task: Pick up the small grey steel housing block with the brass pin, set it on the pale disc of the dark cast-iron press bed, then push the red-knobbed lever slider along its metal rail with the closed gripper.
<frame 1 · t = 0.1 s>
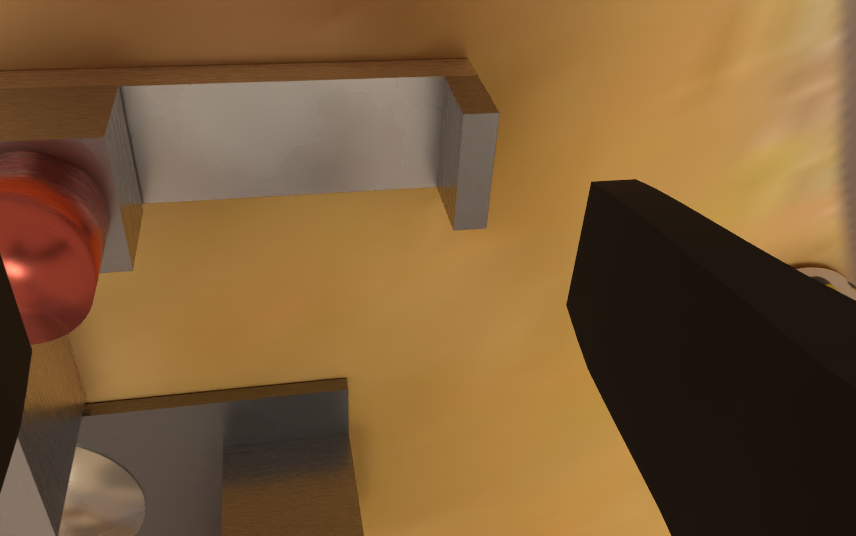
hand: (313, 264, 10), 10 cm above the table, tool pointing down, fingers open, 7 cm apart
lever rail: (197, 125, 19), on the table
supplement bottle: (773, 320, 28), on the table
lever: (35, 212, 16), point 4 cm above the table, slide at 0.0 cm
press bed: (136, 485, 26), on the table
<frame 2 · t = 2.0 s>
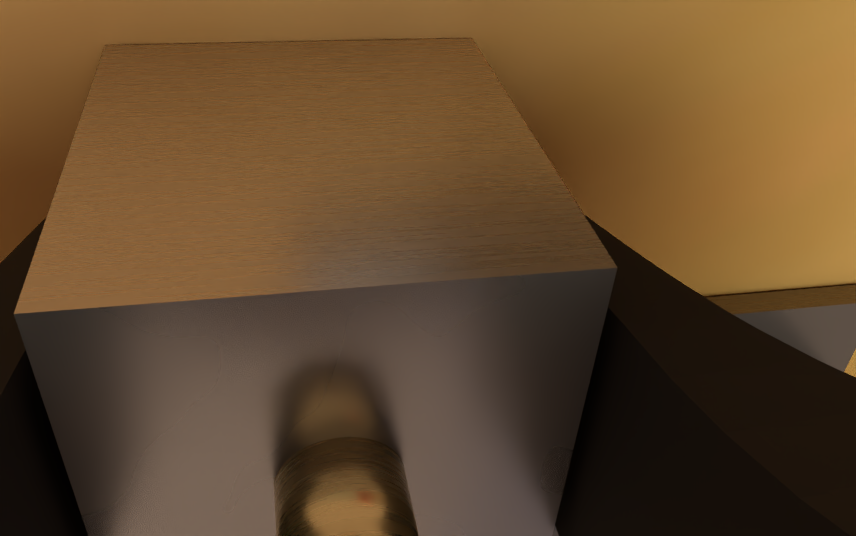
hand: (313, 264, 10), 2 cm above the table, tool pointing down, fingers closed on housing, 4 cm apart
housing: (303, 196, 11), on the table, touching gripper
press bed: (471, 471, 16), on the table
when the fingers open (9 cm above the table, at t = 3.3 s): housing drops 4 cm, resting on press bed.
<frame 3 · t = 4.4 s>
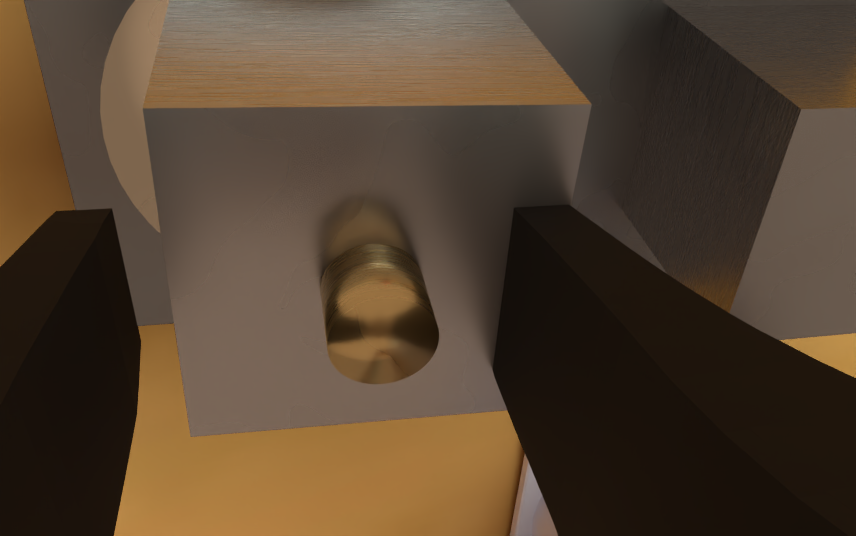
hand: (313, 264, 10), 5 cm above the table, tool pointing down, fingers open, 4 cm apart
housing: (334, 105, 13), point 1 cm above the table, touching gripper, press bed
press bed: (477, 110, 14), on the table
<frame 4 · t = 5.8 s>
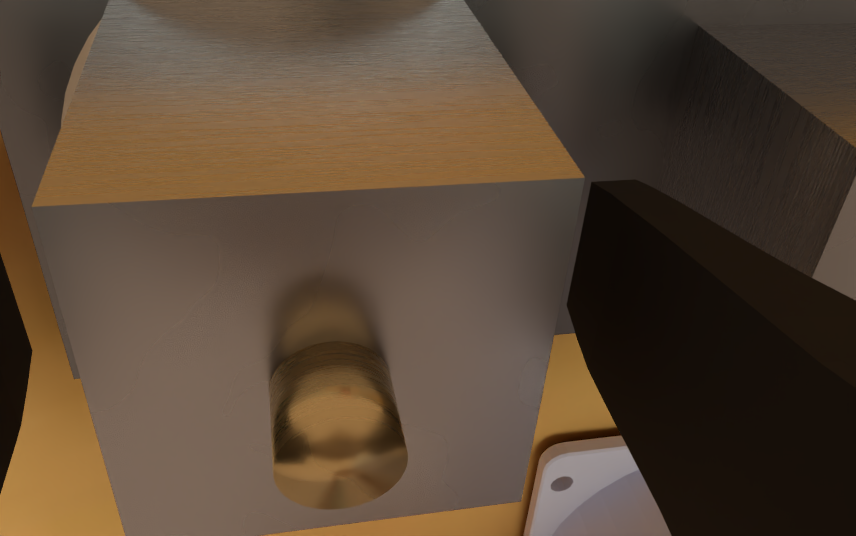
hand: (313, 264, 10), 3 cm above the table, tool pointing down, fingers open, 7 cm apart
housing: (298, 146, 12), point 1 cm above the table, touching press bed
press bed: (484, 138, 13), on the table
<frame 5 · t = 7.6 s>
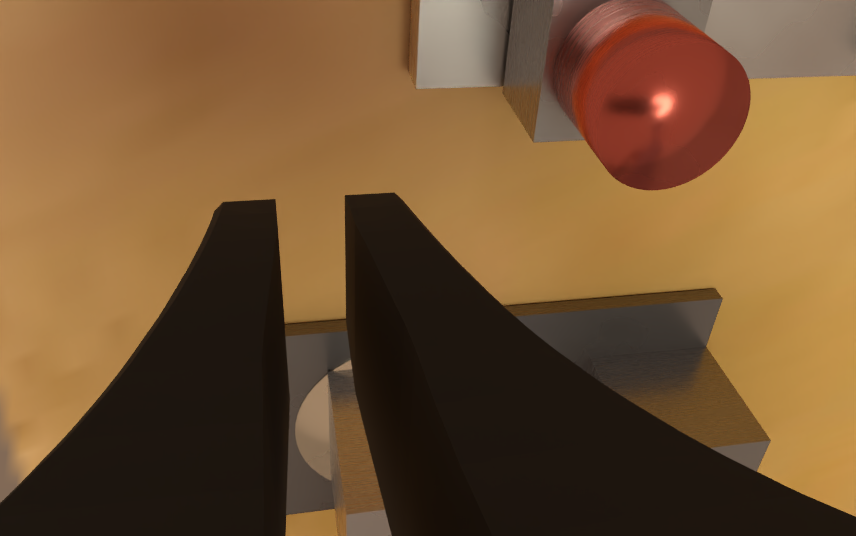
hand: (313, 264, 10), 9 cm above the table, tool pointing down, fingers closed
lever rail: (682, 4, 19), on the table
housing: (400, 416, 25), point 1 cm above the table, touching press bed
lever: (621, 66, 16), point 4 cm above the table, slide at 0.0 cm
press bed: (487, 400, 26), on the table
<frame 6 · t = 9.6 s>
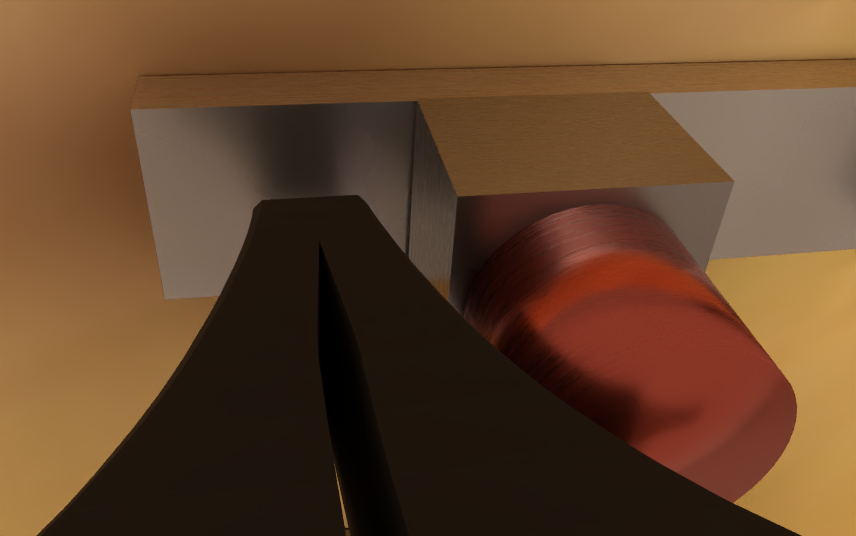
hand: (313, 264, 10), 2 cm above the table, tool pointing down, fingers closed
lever rail: (588, 155, 13), on the table
lever: (576, 302, 10), point 4 cm above the table, slide at 1.5 cm, touching gripper
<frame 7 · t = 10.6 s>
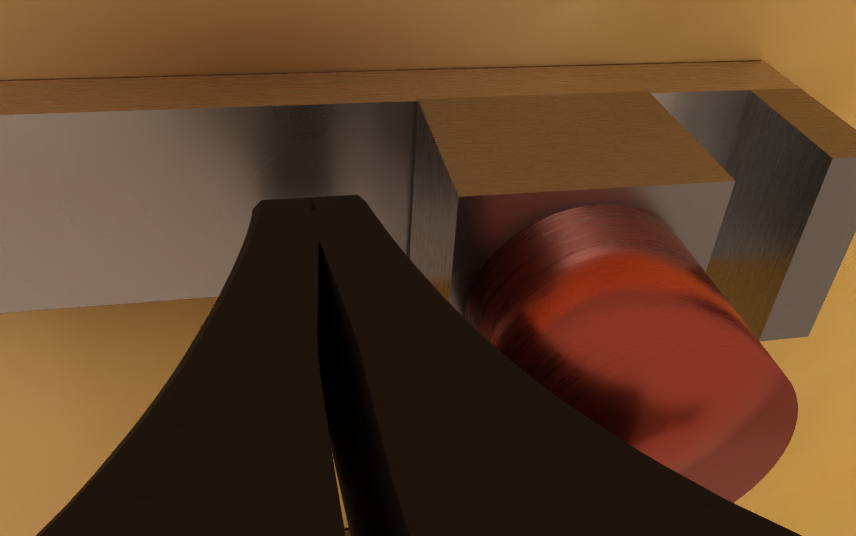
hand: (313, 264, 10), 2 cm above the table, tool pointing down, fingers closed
lever rail: (335, 167, 12), on the table
lever: (577, 302, 10), point 4 cm above the table, slide at 5.6 cm, touching gripper
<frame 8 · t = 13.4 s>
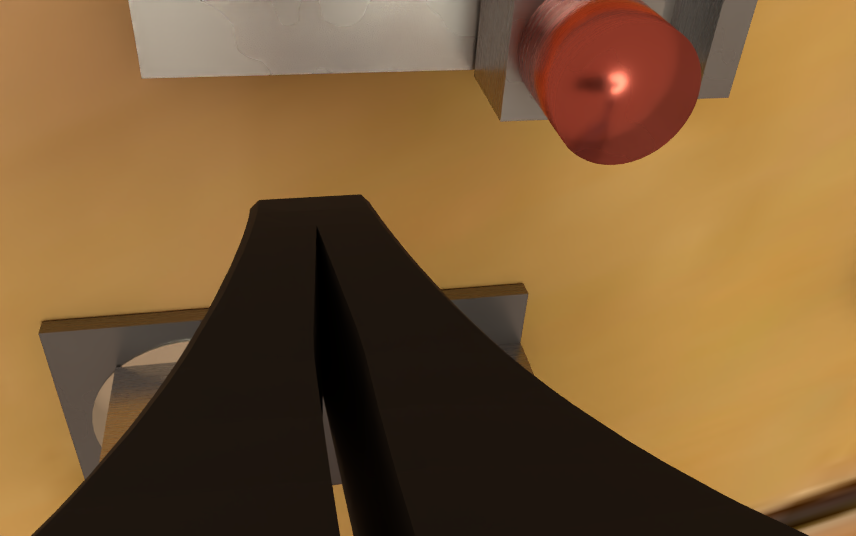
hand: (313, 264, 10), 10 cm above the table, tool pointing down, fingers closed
housing: (204, 413, 25), point 1 cm above the table, touching press bed
lever: (583, 47, 16), point 4 cm above the table, slide at 5.6 cm
press bed: (301, 397, 26), on the table
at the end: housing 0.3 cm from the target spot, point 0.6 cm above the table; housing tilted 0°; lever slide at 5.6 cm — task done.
